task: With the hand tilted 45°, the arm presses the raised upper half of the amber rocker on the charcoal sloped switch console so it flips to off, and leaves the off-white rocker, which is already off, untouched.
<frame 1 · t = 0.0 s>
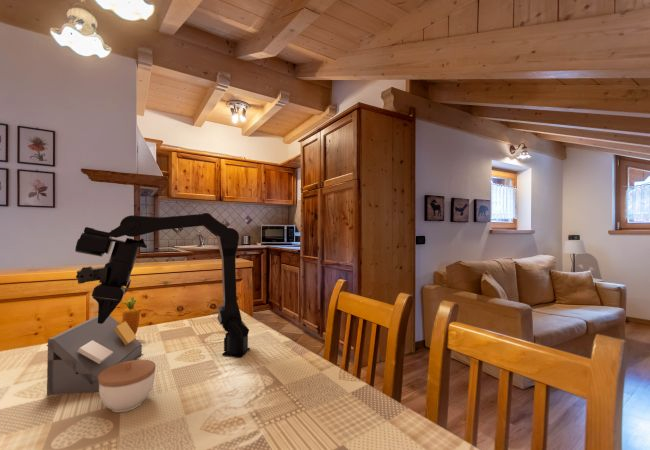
hand: (103, 318, 79), 15 cm above the table, tool pointing down, fingers open, 9 cm apart
off-white rocker: (95, 351, 76), point 8 cm above the table, hinge at 12.0°
carrot: (130, 341, 104), on the table
amber rocker: (125, 332, 90), point 8 cm above the table, hinge at -12.0°
lidded jar: (127, 405, 67), on the table
switch console: (102, 370, 82), on the table
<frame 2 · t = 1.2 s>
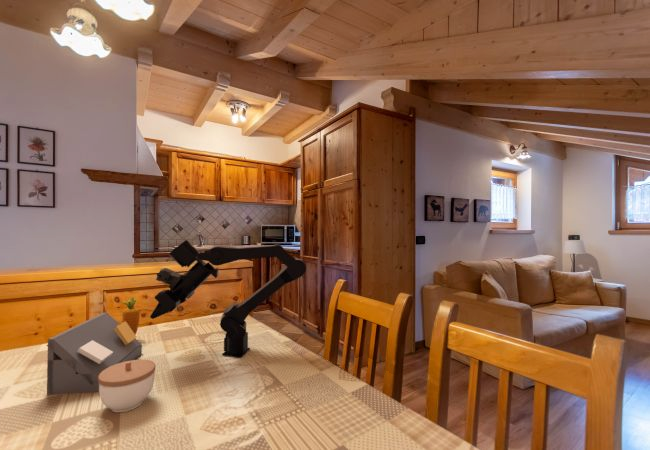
hand: (155, 314, 91), 13 cm above the table, tool tilted 45°, fingers open, 6 cm apart
nothing on the table moved.
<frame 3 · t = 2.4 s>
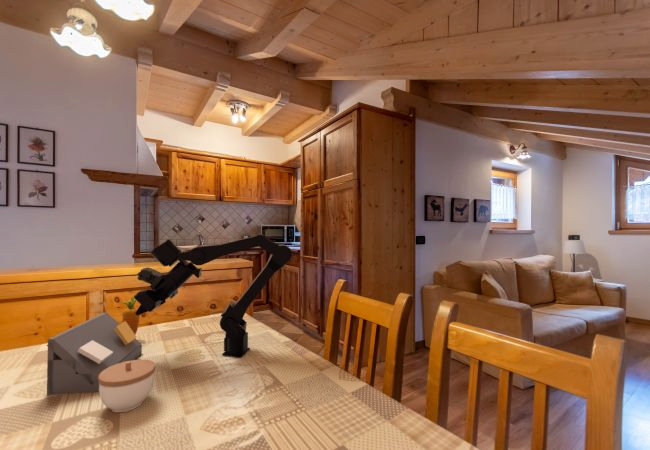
hand: (136, 314, 90), 13 cm above the table, tool tilted 45°, fingers closed
nothing on the table moved.
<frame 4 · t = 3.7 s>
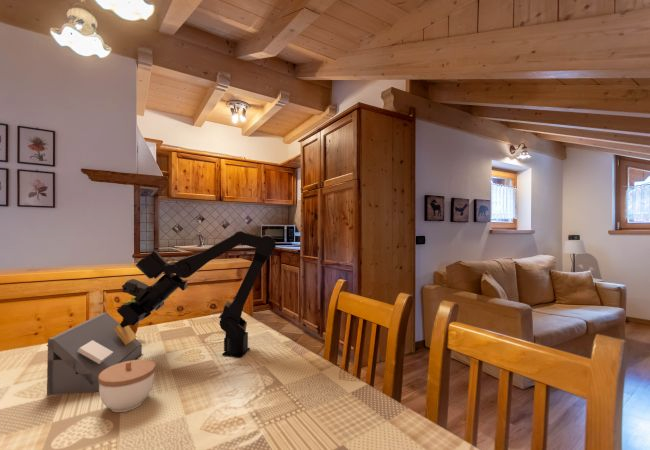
hand: (121, 326, 89), 10 cm above the table, tool tilted 45°, fingers closed, pressing on amber rocker
amber rocker: (125, 332, 90), point 8 cm above the table, hinge at -10.6°, touching gripper
everything else where it was.
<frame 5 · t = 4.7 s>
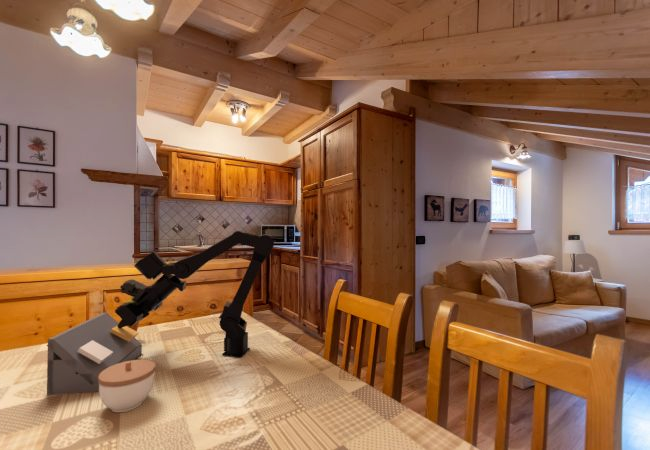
hand: (119, 326, 89), 10 cm above the table, tool tilted 45°, fingers closed
amber rocker: (124, 332, 90), point 8 cm above the table, hinge at 14.4°
everything else where it was.
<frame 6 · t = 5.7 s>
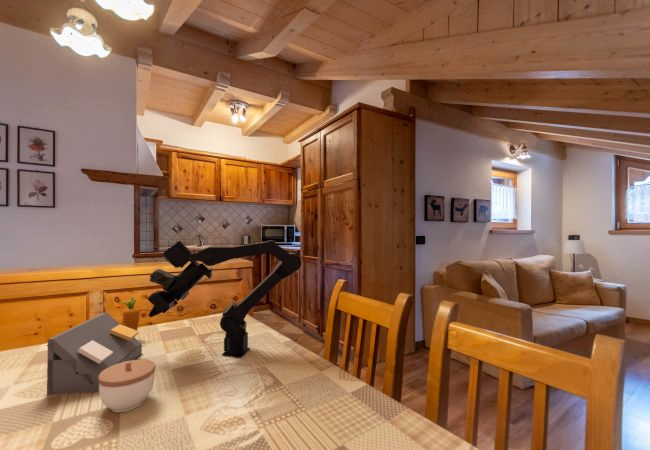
hand: (149, 316, 91), 13 cm above the table, tool tilted 45°, fingers closed
amber rocker: (124, 332, 90), point 8 cm above the table, hinge at 20.7°, touching switch console
everything else where it was.
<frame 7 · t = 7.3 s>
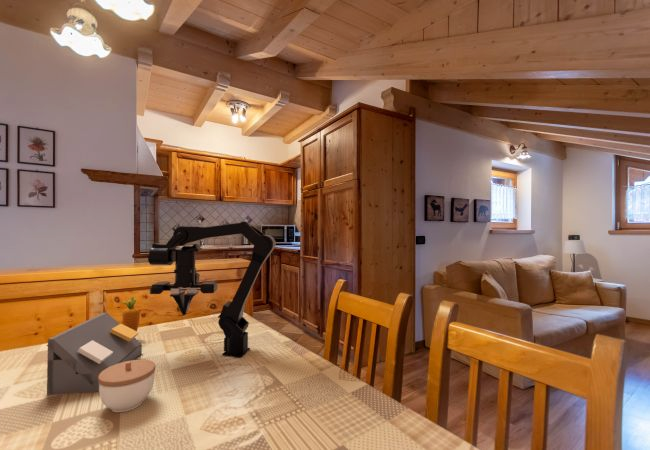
hand: (184, 314, 95), 12 cm above the table, tool pointing down, fingers closed
amber rocker: (124, 332, 90), point 8 cm above the table, hinge at 15.7°
everything else where it was.
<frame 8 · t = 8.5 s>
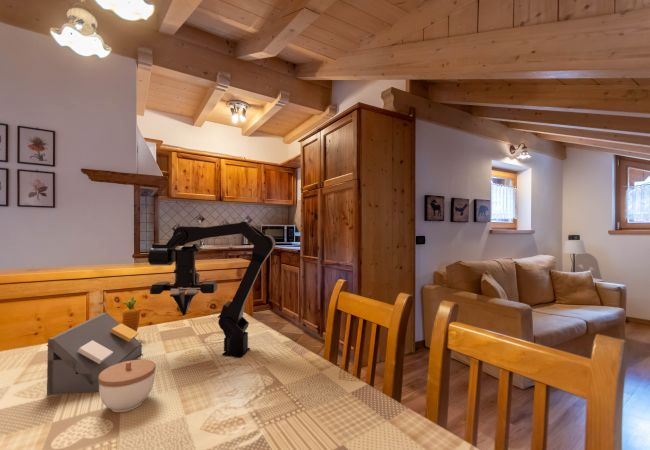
hand: (184, 314, 95), 12 cm above the table, tool pointing down, fingers closed
amber rocker: (124, 332, 90), point 8 cm above the table, hinge at 13.7°
everything else where it was.
at the end: amber rocker at +14° (first picture: -12°); off-white rocker at +12° (first picture: +12°) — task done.
